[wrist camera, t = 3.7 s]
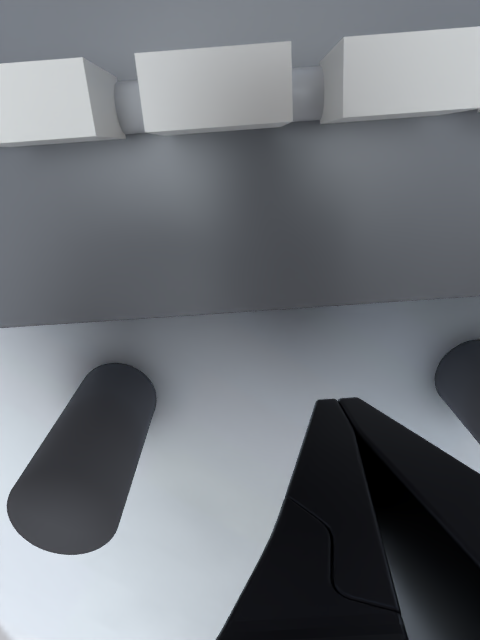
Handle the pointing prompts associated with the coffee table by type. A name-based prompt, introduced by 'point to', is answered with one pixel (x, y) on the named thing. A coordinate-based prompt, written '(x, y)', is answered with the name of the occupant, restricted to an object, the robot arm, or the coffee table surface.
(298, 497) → the robot arm
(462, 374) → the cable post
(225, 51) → the breaker paddles
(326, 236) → the breaker panel
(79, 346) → the coffee table surface
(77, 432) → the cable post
